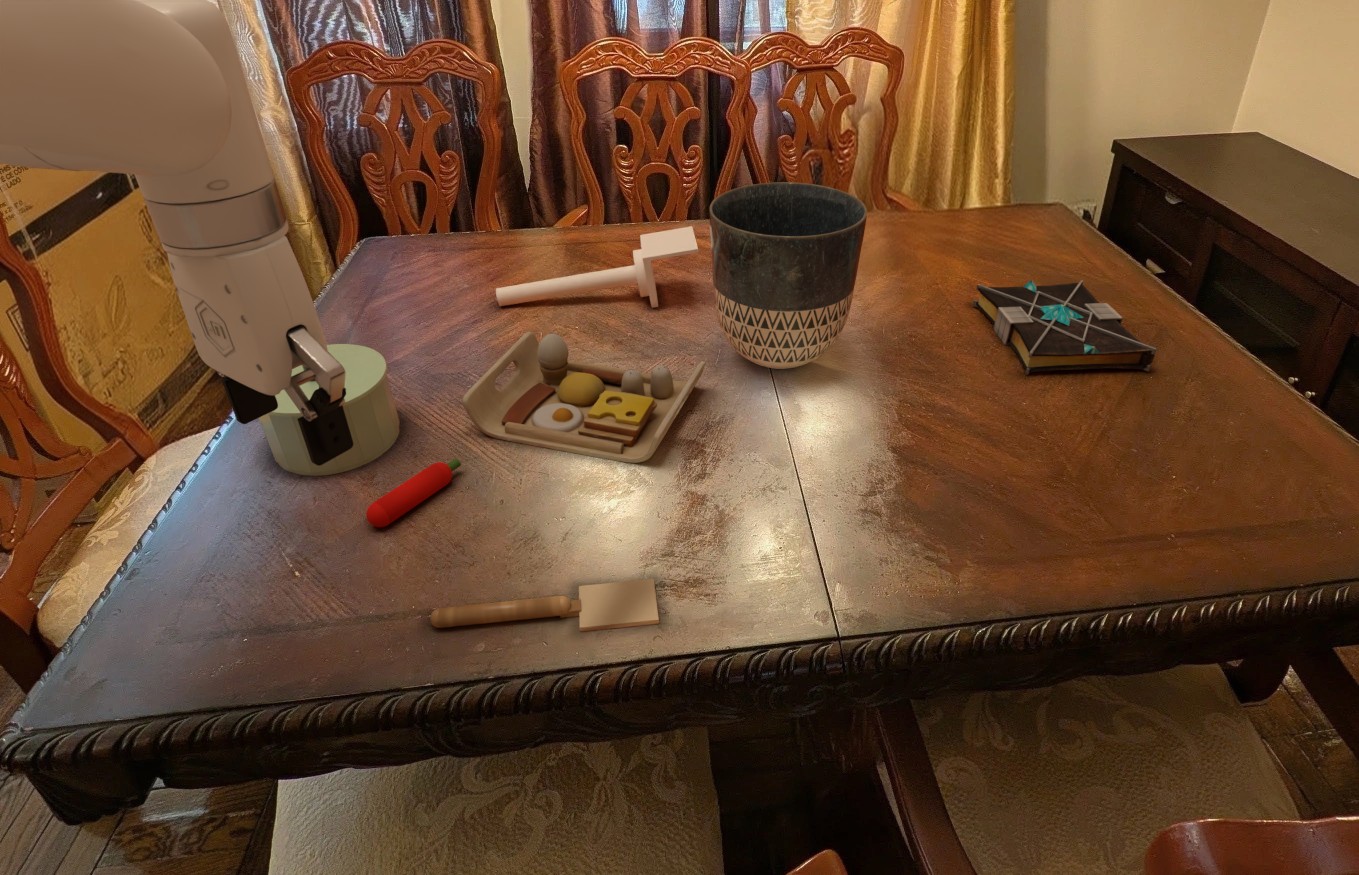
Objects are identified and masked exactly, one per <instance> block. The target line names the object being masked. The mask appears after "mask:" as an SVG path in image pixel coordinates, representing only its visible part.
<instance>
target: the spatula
mask: <svg viewBox="0 0 1359 875" xmlns="http://www.w3.org/2000/svg"><path fill="white" fill-rule="evenodd" d="M658 610H659V609H658V602H657V594H656V585H655V579H654V578H647V579H635V580H626V581H615V582H605V583H594V584H588V585H587V584H584V585H579V586H578V599H569V597H567V596H565V595H554V596H545V597H535V598H525V599H514V600H505V601H504V600H503V601H495V602H483V603H473V604H465V605H453V606H444V607H437V608H435V609H434V610H432V612H431V613H430V616H429V621H430V623H431V625H432V626H433V627H435V628H437V629H445V628H452V627H463V626H472V625H474V626H475V625H482V624H492V623H501V622H502V623H504V622H512V621H522V620H523V621H524V620H532V619H533V620H534V619H543V618H551V617H560V618H561V619H562V618H571V617H572V618H573V617H579V618H578V619H579V620H578V624H579V625H578V626H579V631H580V633H581V632H589V631H600V630H608V629H609V630H610V629H619V628H630V627H640V626H650V625H656V624H657V625H658V624H660V619H659V611H658Z"/></svg>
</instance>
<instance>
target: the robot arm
mask: <svg viewBox="0 0 1359 875" xmlns="http://www.w3.org/2000/svg"><path fill="white" fill-rule="evenodd" d="M253 104H254V103H253V100H252V98H251V93H250V90H249V87H248V84H247V81H246V76H245V73H244V71H243V67H242V63H241V60H240V57H239V54H238V50H237V46H236V43H235V40H234V36H233V33H232V31H231V28H230V25H229V22H228V20H227V19H226V16H225V15H224V13H223V12H222V11H221V9H220V8H219V7H218V6H217V5H215V3H213V2H211V1H210V0H0V164H4V165H7V166H13V167H18V168H19V167H20V168H27V169H28V168H29V169H43V170H55V171H68V172H83V171H85V172H99V173H113V174H125V175H134V177H135V180H136V182H137V186H138V187H139V190H140V193H141V195H142V198H143V201H144V203H145V205H146V209H147V211H148V213H149V216H150V219H151V221H152V223H153V226H154V229H155V232H156V234H157V237H158V239H159V242H160V244H161V246H162V249H163V250H164V251H165V252H166V255H167V260H168V263H169V268H170V272H171V275H172V280H173V283H174V287H175V289H176V293H177V296H178V300H179V302H180V305H181V309H182V312H183V315H184V317H185V320H186V323H187V326H188V329H189V332H190V334H191V337H192V338H191V339H192V340H193V344H194V346H195V350H196V351H197V354H198V356H199V358H200V359H201V361H202V362H203V363H204V364H206V366H208V367H210V368H211V369H213V370H215V371H216V373H217V374H218V375H219V376H220V377H222V379H221V383H222V385H223V388H224V391H225V393H226V396H227V398H228V401H229V404H230V407H231V409H232V411H233V414H234V418H235V420H236V421H237V422H238V423H239V424H241V425H246V424H249V423H251V422H254V421H255V420H257V419H259V417H262V416H264V415H266V414H268V413H270V412H272V411H274V410H276V409H277V408H278V403H277V400H276V397H275V395H277V394H279V393H280V392H281V390H283V389H284V390H285V391H286V393H287V394H288V396H289V397H290V398H291V400H292V401H293V403H294V404H295V406H296V407H297V408H298V410H299V411H300V413H301V414H302V415H303V416H302V417H300V418H298V419H297V420H298V423H299V426H300V429H301V432H302V435H303V438H304V441H305V444H306V447H307V450H308V453H309V456H310V459H311V461H312V463H314V464H316V465H318V466H320V465H323V464H324V463H326V462H328V461H330V460H332V459H333V458H335V457H337V456H339V455H341V454H342V453H344V452H346V451H348V450H350V449H351V448H352V447H353V440H352V436H351V433H350V429H349V426H348V423H347V419H346V416H345V412H344V409H343V405H344V404H345V399H344V397H345V396H346V388H345V387H344V386H345V375H346V373H345V369H344V368H343V366H342V365H341V364H340V363H339V362H338V361H337V360H336V359H335V358H334V357H333V356H332V355H331V354H330V353H329V352H328V349H327V345H328V344H327V342H326V337H325V334H324V331H323V327H322V324H321V321H320V318H319V315H318V313H317V309H316V307H315V303H314V301H313V298H312V295H311V292H310V290H309V288H308V285H307V282H306V279H305V277H304V274H303V271H302V269H301V267H300V264H299V262H298V259H297V257H296V256H295V252H294V250H293V248H292V246H291V244H290V241H289V240H288V237H287V236H286V235H287V233H288V232H289V229H290V226H289V222H288V220H287V216H286V213H285V209H284V206H283V203H282V199H281V196H280V193H279V189H278V186H277V182H276V179H275V177H274V173H273V170H272V166H271V163H270V160H269V156H268V153H267V149H266V145H265V142H264V138H263V134H262V131H261V128H260V124H259V121H258V118H257V114H256V111H255V107H254V105H253ZM300 365H303V366H305V367H308V368H309V369H307V370H305V371H303V372H300V373H298V374H296V375H294V376H292V377H291V374H292V369H294V368H296V367H298V366H300ZM313 379H315V381H316V382H317V384H318V385H319V389H317V390H315V391H314V393H313V394H312V396H311V398H310V400H309V399H308V398H307V396H306V395H305V394H304V392H303V391H302V389H301V388H300V385H302V384H304V383H306V382H309V381H311V380H313Z"/></svg>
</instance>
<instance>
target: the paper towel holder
mask: <svg viewBox="0 0 1359 875" xmlns="http://www.w3.org/2000/svg"><path fill="white" fill-rule="evenodd" d="M639 238H640V247H641V248H638V249H633V250H632V257H633V263H634V264H631V265H626V266H620V267H615V268H609V269H608V268H607V269H603V270H598V271H591V272H585V273H578V274H573V275H568V276H561V277H556V278H555V277H554V278H549V279H544V280H537V281H531V282H526V283H521V284H516V285H508V286H507V285H506V286H502V287H496V288H495V294H496V295H495V296H496V301H497V303H498V306H499V307H505V306H506V307H507V306H511V305H518V304H523V303H529V302H535V301H541V300H546V299H553V298H558V297H565V296H570V295H577V294H583V293H588V292H594V291H600V290H601V291H602V290H606V289H611V288H613V289H614V288H618V287H625V286H629V285H635V284H637V285H638V292H639V296H640V298H645V297H649V301H650V306H651V308H652V309H653V308H659V301H658V300H659V299H658V293H657V292H658V291H657V285H656V279H655V273H654V268H653V262H652V261H655V260H661V259H667V258H673V257H679V256H684V255H691V254H697V253H699V247H698V244H697V240H696V236H695V231H694V228H693V226H692V225H691V226H685V227H678V228H673V229H667V230H661V231H656V232H650V233H644V234H640V235H639Z"/></svg>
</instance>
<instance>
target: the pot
mask: <svg viewBox="0 0 1359 875" xmlns="http://www.w3.org/2000/svg"><path fill="white" fill-rule="evenodd" d="M343 409H344V412H345V416H346V419H347V423H348V426H349V429H350V433H351V436H352V440H353V447H352V448H351V449H350V450H348V451H346V452H344V453H342V454H341V455H339V456H337V457H335V458H333V459H332V460H330V461H328V462H326V463H324V464H323V465H320V466H318V465H316V464H314V463H312V461H311V459H310V456H309V453H308V450H307V447H306V444H305V441H304V438H303V435H302V432H301V429H300V426H299V423H298V420H297V419H298V418H300V417H302V416H298V417H283V416H275V415H269V414H266V415H264V416H262V417H259V418H258V420H259V422H260V425H261V428H262V430H263V432H264V435H265V438H266V440H267V443H268V445H269V448H270V450H271V453H272V455H273V456H272V457H273V458H274V460H275V462H276V464H278V465H279V466H280V467H281V468H282V469H284V470H285V471H288V472H289V473H293V474H296V475H301V476H310V477H311V476H313V477H314V476H315V477H318V476H330V475H335V474H340V473H345V472H348V471H352V470H354V469H358V468H360V467H363V466H364V465H366V464H368V463H371V462H373V461H374V460H376V459H378V458H379V457H380V456H382V455H384V454H385V453H386V452H387V451H388V450H389V449H390V448H392V446H393V445H394V444H395V442H396V441H397V439H398V437H399V434H400V430H401V427H400V418H399V414H398V410H397V408H396V403H395V400H394V396H393V392H392V388H391V385H390V382H389V377H388V374H387V373H386V376H385V378H384V380H383V381H382V382H381V384H380V385H379V386H378V387H377V388H376V389H375V390H373V391H372V392H371V393H369V394H368V395H367V396H365V397H363V398H361V399H360V400H358V401H356V402H354V403H352V404H349V405H347V406H344V407H343Z"/></svg>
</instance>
